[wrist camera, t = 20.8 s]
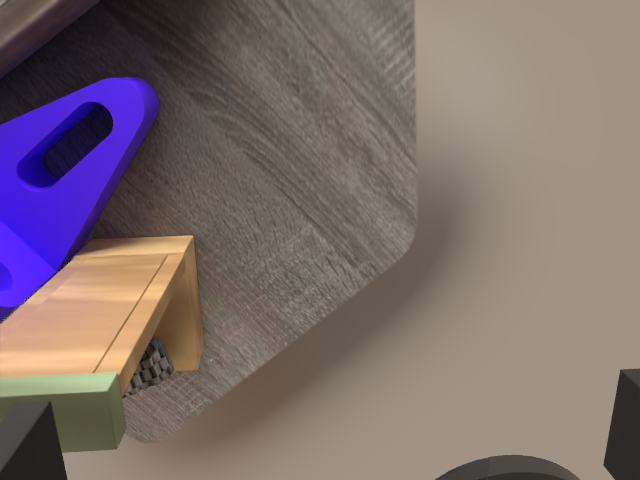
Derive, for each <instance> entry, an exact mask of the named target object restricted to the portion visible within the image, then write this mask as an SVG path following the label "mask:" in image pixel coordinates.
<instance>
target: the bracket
mask: <svg viewBox="0 0 640 480" xmlns="http://www.w3.org/2000/svg"><path fill="white" fill-rule="evenodd" d="M99 103H100V104H102V105H103V106H105V107H106V108H107V109H108V110H109V112H110V113H111V115H112V118H113V129H112V132H111V133H110V135H109V136H108V137H107V138H106V139H104V140H103V141H102V142H101V143H100V144H99V145H98V146H97V147H96V148H94V149H93V150H92V151H91V152H90V153H89V154H88V155H87V156H86V157H84V158H83V159H82V160H81V161H80V162H79V163H78V164H77V165H76V166H74V167H73V168H72V169H71V170H70V171H69V172H68V173H67V174H65V175H64V176H63V177H62V178H61V179H58V178H55V177H53V176H52V175H51V174H50V173H49V172H48V171H47V170H46V168H45V165H44V156H45V154H46V152H47V151H48V150H49V149H50V148H51V147H52V146H53V145H54V144H55V143H56V142H58V141H59V140H60V139H61V138H62V137H63V136H64V135H65V134H66V133H67V132H68V131H70V130H71V129H72V128H73V127H74V126H75V125H76V124H77V123H78V122H79V121H81V120H82V119H83V118H84V117H85V116H86V115H87V114H88V113H89V112H90V111H91V110H93V109H94V108H95V107H96V106H97V105H98V104H99ZM158 112H159V99H158V96H157V94H156V92H155V90H154V89H153V87H152V86H151V85H150V84H149V83H147V82H146V81H144V80H142V79H140V78H136V77H119V78H107V79H103V80H101V81H98V82H96V83H94V84H92V85H89V86H87V87H85V88H83V89H80V90H78V91H76V92H74V93H71V94H69V95H67V96H65V97H62V98H60V99H58V100H56V101H53V102H51V103H49V104H47V105H44V106H42V107H40V108H38V109H35V110H33V111H31V112H28V113H26V114H24V115H22V116H19V117H17V118H15V119H13V120H10V121H8V122H6V123H4V124H1V125H0V321H1V320H2V319H4V318H5V317H6V316H7V315H8V314H9V313H11V312H12V311H13V310H14V309H15V308H16V307H18V306H19V305H20V304H21V303H22V302H23V301H24V300H26V299H27V298H28V297H29V296H30V295H31V294H32V293H33V292H34V291H36V290H37V289H38V288H39V287H40V286H41V285H42V284H43V283H45V282H46V281H47V280H48V279H49V278H50V277H51V276H52V275H54V274H55V273H56V272H57V271H58V270H59V269H60V268H61V267H62V266H64V265H65V264H66V263H67V262H68V261H69V260H70V259H71V258H73V256H74V255H75V254H76V253H77V252H78V251H80V249H81V247H82V245H83V244H84V242H85V240H86V239H87V237H88V235H89V233H90V232H91V230H92V228H93V226H94V225H95V223H96V221H97V219H98V218H99V216H100V214H101V213H102V211H103V209H104V207H105V206H106V204H107V202H108V200H109V199H110V197H111V195H112V193H113V192H114V190H115V188H116V187H117V185H118V183H119V181H120V180H121V178H122V176H123V174H124V173H125V171H126V169H127V167H128V166H129V164H130V162H131V161H132V159H133V157H134V155H135V154H136V152H137V150H138V148H139V147H140V145H141V143H142V141H143V140H144V138H145V136H146V135H147V133H148V131H149V129H150V128H151V126H152V124H153V122H154V121H155V119H156V117H157V115H158Z"/></svg>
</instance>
